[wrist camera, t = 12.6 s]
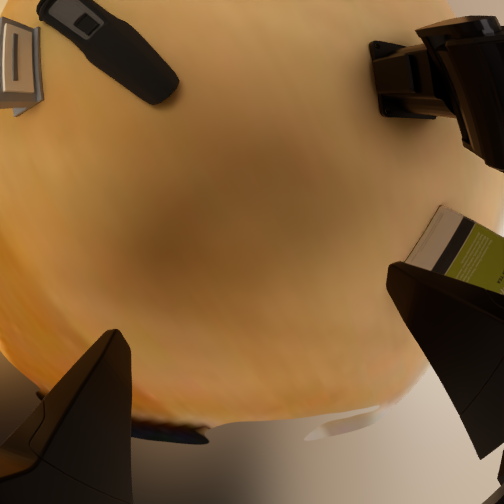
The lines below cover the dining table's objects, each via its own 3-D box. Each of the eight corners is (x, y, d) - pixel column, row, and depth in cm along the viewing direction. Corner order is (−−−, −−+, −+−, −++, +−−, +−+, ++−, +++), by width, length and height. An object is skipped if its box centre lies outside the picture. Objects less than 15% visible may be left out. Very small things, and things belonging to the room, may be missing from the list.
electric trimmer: (152, 121, 16) (143, 120, 13) (39, 18, 9) (20, 8, 6) (194, 83, 15) (193, 74, 12) (73, -16, 8) (59, -30, 5)
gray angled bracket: (40, 27, 9) (6, 13, 5) (43, 99, 12) (4, 98, 8) (13, 46, 9) (-23, 37, 4) (16, 116, 12) (-24, 121, 8)
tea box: (479, 257, 27) (550, 315, 14) (440, 315, 30) (501, 384, 17) (439, 199, 22) (556, 271, 9) (387, 281, 25) (479, 385, 12)
